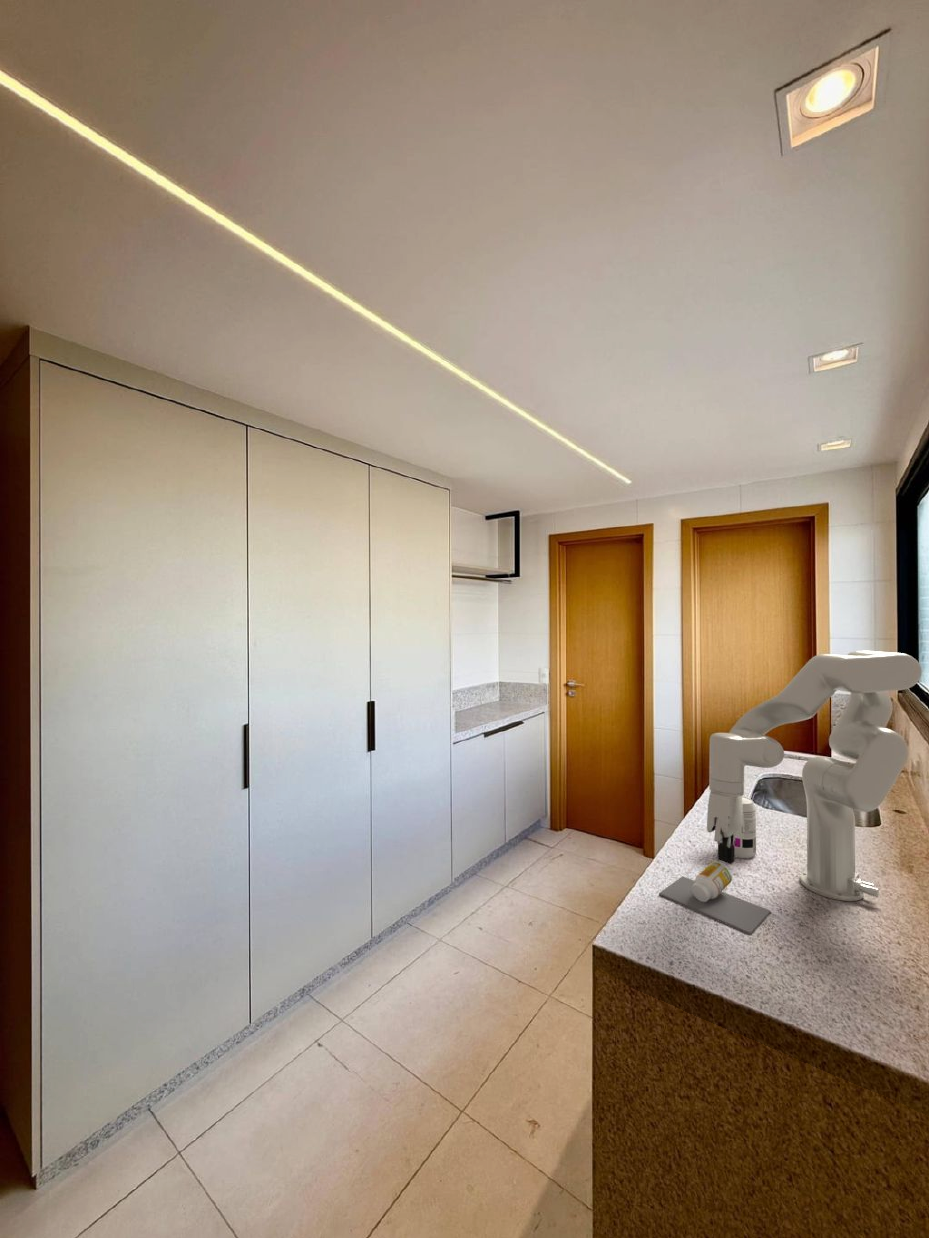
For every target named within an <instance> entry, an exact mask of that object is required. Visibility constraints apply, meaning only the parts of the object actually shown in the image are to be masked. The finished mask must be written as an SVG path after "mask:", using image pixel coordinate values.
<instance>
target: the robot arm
mask: <svg viewBox="0 0 929 1238" xmlns="http://www.w3.org/2000/svg"><path fill="white" fill-rule="evenodd" d="M922 673H923V670H922V666H921V664H920V663H919V661H918V660H917V659H916V658H914V657H913V656H912V655H909V654H907V653H903V652H902V653H901V652H890V651H879V650H877V651H875V650H856V651H851V652H849V653H848V654H846V655H845V654H834V653H833V654H832V653H821V654H816V655H814V656H813V657H811V659H809V660H808V661H807V662H806V663H805V665H804V666H803V667H802V668H801V669H800V670H799V671H798V672H797V674H795V676H794V677H792V679H791V680H790V681H789V682H788V683H787V684H786V686H785V687H784V688H783V689H782V690H781V691H780V692H779V693H778V694H777V695H775V696H773V697H771V698H769V699H767V700H765V701H763V702H761V703H760V704H758V705H756V706H755V707H752V708H751V709H750V710H747V712H745V714H743V715H742V716H741V717H740V718H739V720H738V721H737V722H736V723H735V724H734V725H733V727H732V728H731V729H730V730H729V732H715V733H712V734H711V735H710V736H709V737H710V738H709V759H708V760H709V761H708V762H709V766H708V767H709V772H708V773H709V779H708V781H709V782H708V784H709V787H708V788H709V796H708V803H707V813H706V817H707V819H706V831H707V832H708V833H713V832H714V837H713V838H714V839H713V840H714V842H716V843H717V859H718V861H721V862H724V863H726V864H728V865H732V864H733V863H734V862H735V856H734V847H735V846H733V845H735V836H736V832H737V831H739V830H740V829H741V828H742V824H743V804H742V796H743V797H744V796H745V767H746V766H748V767H749V766H750V767H754V768H755V767H756V768H762V769H763V768H764V769H770V768H774V767H777V766H778V765H780V764H781V763H782V762H783V760H784V757H785V751H784V748H783V746H782V745H781V743H779V742H778V740H776V739H774V738H773V737H771V736H768V735H766V734H767V733H768V732H770V731H771V730H773V729H775V728H777V727H779V726H782V725H786V724H794V723H799V722H803V721H806V720H809V719H812V718H814V716H815V715H816V714H817V713H818V712H819V711H820V710H821V709H822V707H823V706H824V705H825V704H826V703H827V701H829V699H830V698H831V697H832V696H833V695H834V694H835V693H836V692H838V691H840V692H845V693H846V692H847V693H850V694H849V695H850V697H849V700H848V703H847V705H846V707H845V709H844V710H843V712H842V714H841V716H840V717H839V718H838V721H837V722H836V724H835V726H834V728H833V729H832V730H831V733H830V735H829V739H828V744H829V747H830V749H831V750H832V751H833V752H834V753H835V754H837V755H838V756H840V757H843V758H846V759H847V760H850V761H854V762H855V764H854V765H853V764H850V763H849V762H845V761H842V760H839V759H836V758H833V757H829V756H822V755H821V756H814V757H812V758H809V759H808V760H807V761H806V762H805V763H804V765H803V767H802V771H801V778H802V784H803V788H804V793H805V800H806V870H804V871H802V872H801V873H799V881H800V883H801V884H802V885H803V886H804V887H805V888H806V889H808V890H810V891H811V892H813V893H815V894H817V895H820V896H823V897H825V898H829V899H834V900H837V901H842V902H843V901H844V902H855V901H860V900H862V899H863V898H864V895H865V894H866V895H869V896H871V897H875V898H879V895H880V894H879V893H880V889H879V888H876V887H875V884H874V883H871V882H868V881H865V880H862V879H861V878H860V873H859V872H856V818H855V813H854V810H855V811H858V812H862V813H863V812H864V813H868V812H872V811H875V810H876V809H878V808H879V807H880V806H881V805H882V804H883V803H884V802H885V800H886V799H887V798H888V795H889V794H890V792H891V791H892V789H893V786H894V785H895V783H896V782H897V780H898V778H899V776H900V774H901V773H902V771H903V769H904V768H905V765H906V763H907V760H908V754H909V753H908V752H909V750H908V745H907V742H906V740H905V739H904V737H903V736H902V735H901V734H899V733H898V732H896V731H894V730H892V729H890V728H887V725H888V723H889V721H890V719H891V717H892V716H893V715H892V714H893V710H894V709H893V702H892V699H891V698H892V697H891V696H890V694H889V692H895V691H904V690H907V689H910V688H913V687H914V686H915V685H916V684H917V683H918V682H920V679H921V677H922Z"/></svg>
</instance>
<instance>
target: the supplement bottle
mask: <svg viewBox="0 0 929 1238" xmlns="http://www.w3.org/2000/svg"><path fill="white" fill-rule="evenodd" d="M732 875H733V874H732V873H731V871H730V869H729V868H728V867H727V866H726V865H725V864H724V863H721V862H719V861H712V862H711V863H710V864H708V865H707V866H706V867H705V868H704V869H703V870H702V871H701V872H700V873H699V874H698V875H697V876H696V877H695V878H694V879H695V880H694V881H695V884H694V885H693V886H692V887H691V890H692V893H693V895H694V896H695V897H696V898H697V899H698V900H700V901H702V902H706V901H708V900H709V899H714V898H716V897H717V896H718V895H719V894H720V893H721V892H724V890H725V889H726V888H727V887H728V886H729V885H730V884H731V883H732V881H733V876H732Z"/></svg>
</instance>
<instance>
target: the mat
mask: <svg viewBox="0 0 929 1238" xmlns="http://www.w3.org/2000/svg"><path fill="white" fill-rule="evenodd" d="M694 884H695V880H693V879H691V878H688V877H686V876H683V875H682V876H681V877H679V878H677V880H676V881H674V882H672V883H671V884H669V885H668V886H667V887H666V888H664V889H663V890H661V891H660V892H659V894H658V895H659V896H661V898H662V897H663V898H664V899H667V900H669V901H672V902H674V903H676V904H678V905H680V906H683V907H685V908H688V909H691V910H693V911H694V912H697V913H698V914H702V915H703V916H707V917H708V918H710V919H713V920H716V921H718V922H720V923H722V924H724V925H727V926H729V927H731V928H734V929H735V930H737V931H740V932H742V933H745V934H747V935H749V936H751V935H752V934H754V932H755V931H756V930H757V929H758V928H759V926H761V924H762V923H763V922H764V921H765V920H766V919H767V918H768V917H769V915H770V914H771V912H772V911H771V910H770V909H767V908H765V907H762V906H760V905H757V904H754V903H753V902H750V901H747V900H744V899H742V898H739V897H737V896H734V895H731V894H729V893H728V892H727V893H726V892H724V891H722V892H721V893H720V894H719V895H718V896H717V897H716V898H714V899H709V900H708V901H706V902H702V901H700V900H698V899H697V898H696V897H695V896H694V895H693V893H692V890H691V887H692V886H693V885H694Z"/></svg>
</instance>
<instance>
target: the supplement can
mask: <svg viewBox="0 0 929 1238" xmlns="http://www.w3.org/2000/svg"><path fill="white" fill-rule="evenodd" d="M742 804H743V824H742V828H741V829H740V830H739V831H737V832H736V836H735V845H733V846H735V847H734V858H740V859H752V858H753V857H754V856H756V855H757V808H756V805H755V803H754V801H753V799H751V798H750V797H747V796H744V795H743V796H742Z"/></svg>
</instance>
